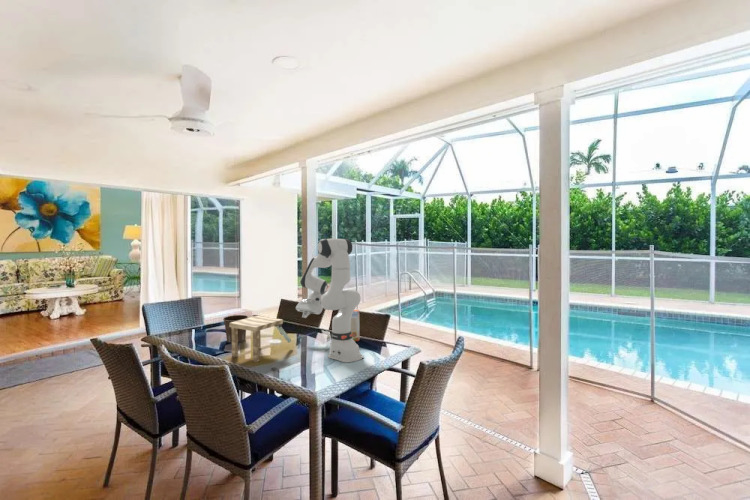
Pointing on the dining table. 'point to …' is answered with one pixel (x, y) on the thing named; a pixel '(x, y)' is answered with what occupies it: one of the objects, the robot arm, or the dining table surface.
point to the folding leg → (283, 333)
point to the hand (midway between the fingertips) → (303, 317)
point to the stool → (255, 326)
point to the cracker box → (355, 325)
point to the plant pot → (229, 330)
